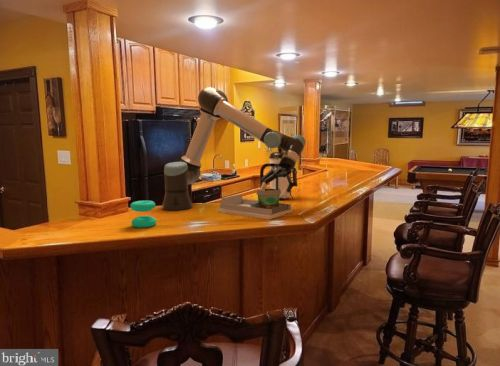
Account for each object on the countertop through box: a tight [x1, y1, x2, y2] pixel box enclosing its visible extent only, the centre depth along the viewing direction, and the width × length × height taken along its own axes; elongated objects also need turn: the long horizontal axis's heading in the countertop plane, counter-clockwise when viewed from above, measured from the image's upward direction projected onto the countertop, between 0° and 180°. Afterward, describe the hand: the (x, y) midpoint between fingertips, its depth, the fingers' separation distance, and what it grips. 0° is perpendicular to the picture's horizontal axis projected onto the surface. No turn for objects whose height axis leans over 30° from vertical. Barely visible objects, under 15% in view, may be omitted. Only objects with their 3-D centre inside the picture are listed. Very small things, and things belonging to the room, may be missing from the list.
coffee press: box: [259, 148, 294, 201], centre depth 211 cm, size 17×16×30 cm
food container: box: [255, 188, 281, 209], centre depth 172 cm, size 12×6×10 cm, turn 114°
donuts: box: [129, 199, 157, 229], centre depth 154 cm, size 10×10×10 cm
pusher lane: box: [217, 193, 294, 220], centre depth 178 cm, size 30×20×6 cm, turn 52°
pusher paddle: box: [250, 202, 259, 208], centre depth 178 cm, size 6×14×4 cm, turn 142°
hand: (271, 195), depth 173 cm, fingers open, 13 cm apart
